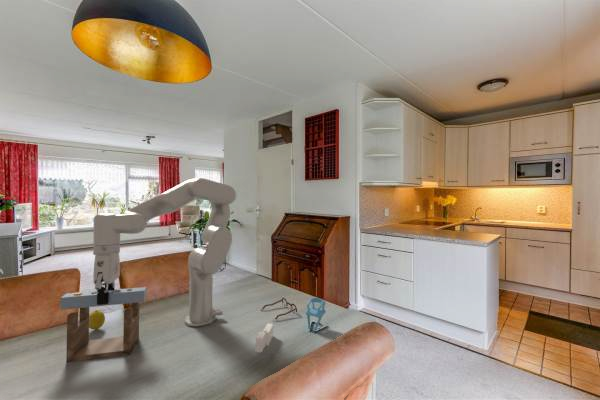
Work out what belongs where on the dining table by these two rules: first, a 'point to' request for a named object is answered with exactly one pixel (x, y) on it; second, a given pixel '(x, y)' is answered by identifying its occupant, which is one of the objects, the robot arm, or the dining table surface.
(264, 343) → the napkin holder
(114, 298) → the power strip
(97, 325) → the lemon
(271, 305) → the glasses
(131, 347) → the rack
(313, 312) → the chair
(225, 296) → the dining table surface
